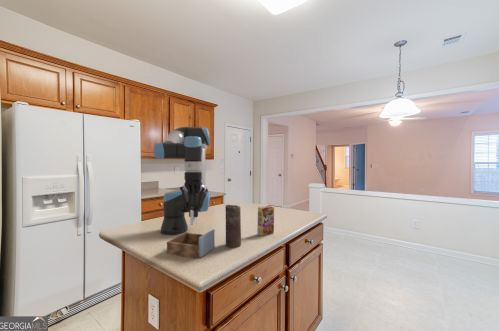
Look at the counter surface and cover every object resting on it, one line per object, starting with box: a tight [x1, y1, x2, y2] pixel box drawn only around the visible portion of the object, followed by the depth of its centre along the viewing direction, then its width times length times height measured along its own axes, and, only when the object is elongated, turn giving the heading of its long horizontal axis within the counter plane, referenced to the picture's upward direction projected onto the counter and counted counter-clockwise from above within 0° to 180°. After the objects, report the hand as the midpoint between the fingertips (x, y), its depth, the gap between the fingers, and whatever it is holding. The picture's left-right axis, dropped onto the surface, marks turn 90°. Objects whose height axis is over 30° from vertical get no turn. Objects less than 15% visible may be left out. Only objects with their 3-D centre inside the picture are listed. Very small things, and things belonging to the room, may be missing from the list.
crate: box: [166, 231, 204, 259], centre depth 104 cm, size 15×14×6 cm
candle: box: [225, 204, 242, 249], centre depth 110 cm, size 8×7×20 cm
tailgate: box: [197, 229, 216, 259], centre depth 101 cm, size 1×12×9 cm, turn 159°
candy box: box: [256, 205, 275, 237], centre depth 129 cm, size 9×4×15 cm, turn 123°
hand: (193, 224), depth 103 cm, fingers closed
